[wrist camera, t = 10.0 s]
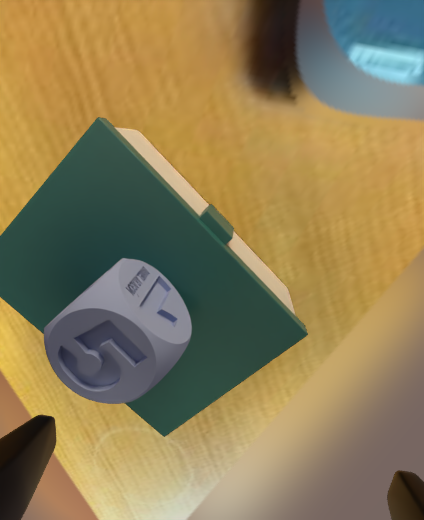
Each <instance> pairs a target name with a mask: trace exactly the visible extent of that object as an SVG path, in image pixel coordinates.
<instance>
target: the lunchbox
mask: <svg viewBox="0 0 424 520" xmlns="http://www.w3.org/2000/svg"><path fill="white" fill-rule="evenodd" d="M122 258H126V259H135V260H140V261H143V262H145V263H147V264H149V265H151V266H152V267H154V268H155V269H156V270H158V271H159V272H160V273H161V274H162V275H164V276H165V277H166V278H167V279H168V280H169V282H170V283H171V284H172V285H173V286H174V288H175V289H176V290H177V292H178V293H179V295H180V296H181V298H182V300H183V301H184V303H185V305H186V307H187V310H188V312H189V315H190V319H191V325H192V331H191V338H190V341H189V343H188V346H187V347H186V349H185V351H184V353H183V354H182V356H181V357H180V358H179V360H178V361H177V363H176V364H175V365H174V366H173V367H172V369H171V370H170V371H169V372H168V373H167V374H166V375H165V376H164V377H163V378H162V379H161V380H160V381H159V382H158V383H157V384H156V385H155V386H154V387H153V388H152V389H150V390H149V391H148V392H147V393H145V394H144V395H142V396H141V397H139V398H138V399H136V400H134V401H131V402H127V403H125V404H126V405H127V406H129V407H130V408H131V409H132V410H133V411H134V412H136V413H137V414H138V415H139V416H140V417H141V418H143V419H144V420H145V421H146V422H147V423H148V424H150V425H151V426H152V427H153V428H154V429H155V430H157V431H158V432H159V433H160V434H161V435H162V436H164V437H165V436H166V435H168V434H169V433H171V432H172V431H173V430H175V429H176V428H178V427H179V426H180V425H182V424H183V423H185V422H186V421H187V420H189V419H190V418H192V417H193V416H194V415H196V414H197V413H199V412H200V411H202V410H203V409H204V408H206V407H207V406H209V405H210V404H211V403H213V402H214V401H216V400H217V399H218V398H220V397H221V396H223V395H224V394H225V393H227V392H228V391H230V390H231V389H232V388H234V387H235V386H237V385H238V384H239V383H241V382H242V381H244V380H245V379H247V378H248V377H249V376H251V375H252V374H254V373H255V372H256V371H258V370H259V369H261V368H262V367H263V366H265V365H266V364H268V363H269V362H270V361H272V360H273V359H275V358H276V357H277V356H279V355H280V354H282V353H283V352H284V351H286V350H287V349H289V348H290V347H292V346H293V345H294V344H296V343H297V342H299V341H300V340H301V339H303V338H304V337H306V336H307V335H308V333H307V330H306V327H305V325H304V324H303V323H302V322H301V321H300V320H299V319H298V318H297V317H296V315H295V311H294V308H293V305H292V301H291V298H290V294H289V291H288V288H287V287H286V286H285V285H284V284H283V283H282V282H281V281H280V279H279V278H278V277H277V276H276V275H275V274H274V273H273V272H272V271H271V270H270V269H269V268H268V267H267V266H266V265H265V264H264V263H263V262H262V260H261V259H260V258H259V257H258V256H257V255H256V254H255V253H254V252H253V251H252V250H251V249H250V248H249V247H248V246H247V245H246V244H245V242H244V241H243V240H242V239H241V238H240V237H239V236H238V235H237V234H236V233H235V232H234V228H233V226H232V225H231V224H230V223H229V222H228V221H227V220H226V219H225V218H224V217H223V216H222V215H221V214H220V213H219V212H218V211H217V210H216V208H215V207H214V206H213V205H212V204H210V205H209V204H208V203H207V202H206V201H205V200H204V199H203V198H202V197H201V196H200V195H199V194H198V193H197V192H196V191H195V190H194V189H193V188H192V186H191V185H190V184H189V183H188V182H187V181H186V180H185V179H184V178H183V177H182V176H181V175H180V174H179V173H178V172H177V171H176V170H175V169H174V167H173V166H172V165H171V164H170V163H169V162H168V161H167V160H166V159H165V158H164V157H163V156H162V155H161V154H160V153H159V152H158V151H157V150H156V148H155V147H154V146H153V145H152V144H151V143H150V142H149V141H148V140H147V139H146V138H145V137H144V136H143V135H142V134H141V133H140V132H139V131H138V130H133V129H124V128H115V127H114V126H113V125H112V124H111V123H110V122H109V121H108V120H107V119H106V118H100V117H98V118H97V119H96V120H95V121H94V123H93V124H92V125H91V126H90V128H89V129H88V130H87V131H86V132H85V134H84V135H83V136H82V137H81V138H80V140H79V141H78V142H77V143H76V145H75V146H74V147H73V148H72V149H71V151H70V152H69V153H68V154H67V155H66V157H65V158H64V159H63V160H62V162H61V163H60V164H59V165H58V166H57V168H56V169H55V170H54V171H53V173H52V174H51V175H50V176H49V177H48V179H47V180H46V181H45V182H44V183H43V185H42V186H41V187H40V188H39V190H38V191H37V192H36V193H35V194H34V196H33V197H32V198H31V199H30V200H29V202H28V203H27V204H26V205H25V207H24V208H23V209H22V210H21V211H20V213H19V214H18V215H17V216H16V218H15V219H14V220H13V221H12V222H11V224H10V225H9V226H8V227H7V228H6V230H5V231H4V232H3V233H2V235H1V236H0V297H1V298H2V299H3V300H5V301H6V302H7V303H8V304H9V305H10V306H12V307H13V308H14V309H15V310H16V311H17V312H19V313H20V314H21V315H22V316H23V317H24V318H26V319H27V320H28V321H29V322H30V323H31V324H33V325H34V326H35V327H36V328H37V329H38V330H40V331H41V332H42V333H43V334H44V328H45V327H46V326H47V325H48V324H49V323H50V322H51V321H52V320H53V319H54V318H55V317H56V316H57V315H58V314H60V313H61V312H62V311H63V310H64V309H65V308H66V307H67V306H68V305H69V304H71V303H72V302H73V301H74V300H75V299H76V298H77V297H78V296H79V295H81V294H82V293H83V292H84V291H85V290H86V289H87V288H89V287H90V286H91V285H92V284H93V283H94V282H95V281H96V280H98V279H99V278H100V277H101V276H102V275H103V274H104V273H106V272H107V271H108V270H109V269H110V268H111V267H113V266H114V265H115V264H116V263H117V262H118V261H120V260H121V259H122Z"/></svg>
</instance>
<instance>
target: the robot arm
mask: <svg viewBox="0 0 424 520" xmlns="http://www.w3.org/2000/svg"><path fill="white" fill-rule="evenodd" d="M55 445H56V427H55V419H54V418H53V417H52V416H46V415H38V416H36V417H34V418H32V419H31V420H29V421H28V422H26V423H25V424H23V425H21V426H20V427H18V428H17V429H15V430H13V431H12V432H10V433H9V434H7V435H5V436H4V437H2V438H1V439H0V520H21V518H22V516H23V514H24V512H25V511H26V509H27V507H28V505H29V502H30V500H31V498H32V496H33V494H34V492H35V490H36V488H37V485H38V483H39V481H40V479H41V477H42V475H43V472H44V470H45V468H46V466H47V464H48V462H49V459H50V457H51V455H52V453H53V451H54V448H55ZM387 500H388V506H389V510H390V514H391V519H392V520H424V482H423V481H422V480H421V479H420V478H419V477H418V476H417V475H416V474H414V473H412V472H406V471H397V472H395V474H394V477H393V480H392V483H391V485H390V488H389V491H388V495H387Z"/></svg>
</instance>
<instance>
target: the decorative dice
mask: <svg viewBox="0 0 424 520" xmlns="http://www.w3.org/2000/svg"><path fill="white" fill-rule="evenodd" d="M191 331H192V325H191V319H190V315H189V312H188V310H187V307H186V305H185V303H184V301H183V300H182V298H181V296H180V295H179V293H178V292H177V290H176V289H175V288H174V286H173V285H172V284H171V283H170V282H169V280H168V279H167V278H166V277H165V276H164V275H162V274H161V273H160V272H159V271H158V270H156V269H155V268H154V267H152V266H151V265H149V264H147V263H145V262H143V261H140V260H135V259H126V258H122V259H121V260H120V261H118V262H117V263H116V264H115V265H114V266H113V267H111V268H110V269H109V270H108V271H107V272H106V273H104V274H103V275H102V276H101V277H100V278H99V279H98V280H96V281H95V282H94V283H93V284H92V285H91V286H90V287H89V288H87V289H86V290H85V291H84V292H83V293H82V294H81V295H79V296H78V297H77V298H76V299H75V300H74V301H73V302H72V303H71V304H69V305H68V306H67V307H66V308H65V309H64V310H63V311H62V312H61V313H60V314H58V315H57V316H56V317H55V318H54V319H53V320H52V321H51V322H50V323H49V324H48V325H47V326H46V327H45V328H44V344H45V349H46V354H47V357H48V359H49V362H50V364H51V366H52V368H53V370H54V372H55V373H56V375H57V376H58V377H59V379H60V380H61V381H62V382H63V383H64V384H65V385H66V386H67V387H68V388H70V389H71V390H72V391H74V392H75V393H77V394H78V395H80V396H82V397H84V398H87V399H89V400H92V401H96V402H101V403H108V404H120V403H127V402H131V401H134V400H136V399H138V398H139V397H141V396H142V395H144V394H145V393H147V392H148V391H149V390H150V389H152V388H153V387H154V386H155V385H156V384H157V383H158V382H159V381H160V380H161V379H162V378H163V377H164V376H165V375H166V374H167V373H168V372H169V371H170V370H171V369H172V367H173V366H174V365H175V364H176V363H177V361H178V360H179V358H180V357H181V356H182V354H183V353H184V351H185V349H186V347H187V346H188V343H189V341H190V338H191Z"/></svg>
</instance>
